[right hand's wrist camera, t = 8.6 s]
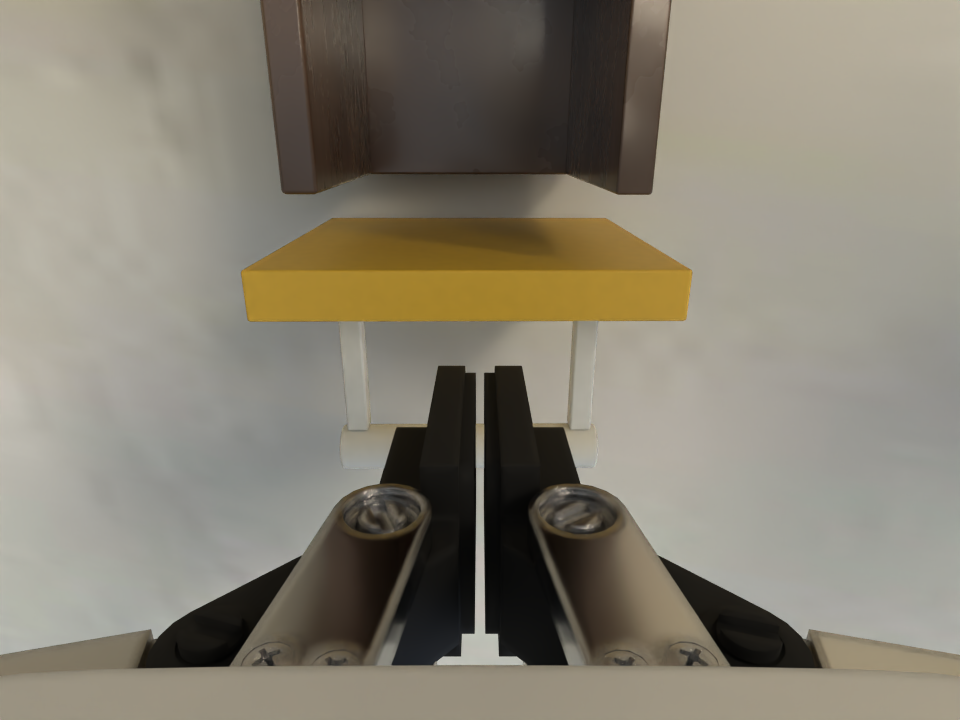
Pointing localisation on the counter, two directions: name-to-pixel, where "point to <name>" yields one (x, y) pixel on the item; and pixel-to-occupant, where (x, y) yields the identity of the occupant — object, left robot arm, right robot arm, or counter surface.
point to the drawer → (466, 150)
